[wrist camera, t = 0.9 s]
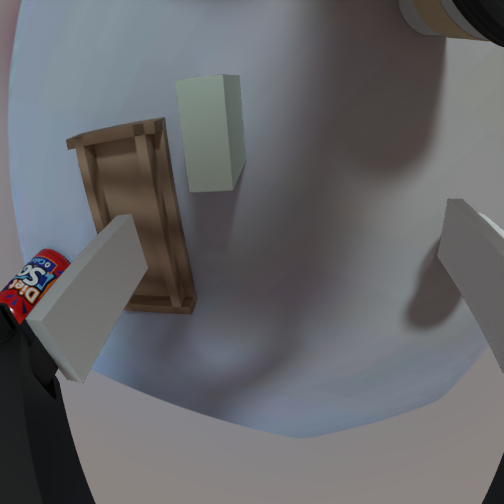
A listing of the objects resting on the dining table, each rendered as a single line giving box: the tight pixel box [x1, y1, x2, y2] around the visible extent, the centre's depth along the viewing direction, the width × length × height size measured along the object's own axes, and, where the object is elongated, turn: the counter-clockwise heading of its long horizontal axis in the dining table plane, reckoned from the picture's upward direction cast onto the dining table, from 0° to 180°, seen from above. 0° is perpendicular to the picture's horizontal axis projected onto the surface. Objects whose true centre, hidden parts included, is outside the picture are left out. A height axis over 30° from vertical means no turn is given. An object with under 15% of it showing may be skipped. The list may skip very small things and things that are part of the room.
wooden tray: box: [66, 117, 197, 314], centre depth 35 cm, size 24×11×3 cm, turn 4°
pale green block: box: [176, 74, 246, 193], centre depth 26 cm, size 9×4×9 cm, turn 4°
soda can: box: [0, 249, 70, 324], centre depth 36 cm, size 8×8×15 cm
